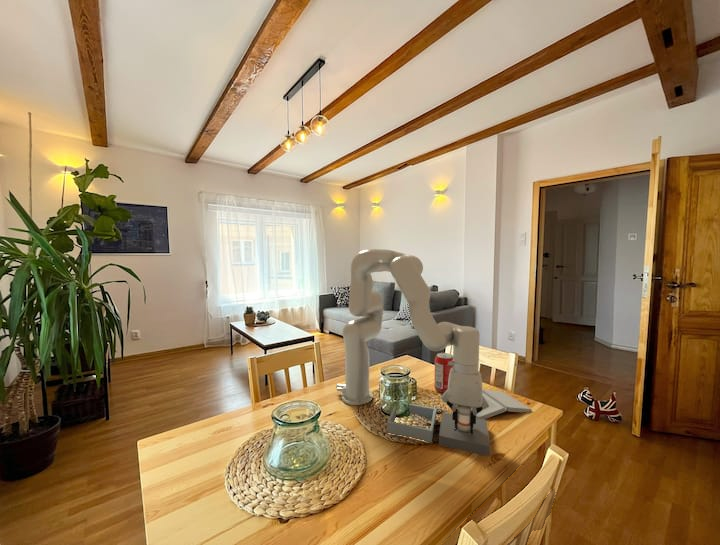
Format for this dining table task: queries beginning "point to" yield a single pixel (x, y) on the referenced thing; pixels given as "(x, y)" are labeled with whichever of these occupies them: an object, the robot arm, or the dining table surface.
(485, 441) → the grey flat square block
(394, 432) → the parts tray
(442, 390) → the soda can
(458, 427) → the cylinder
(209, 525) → the dining table surface
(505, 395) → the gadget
